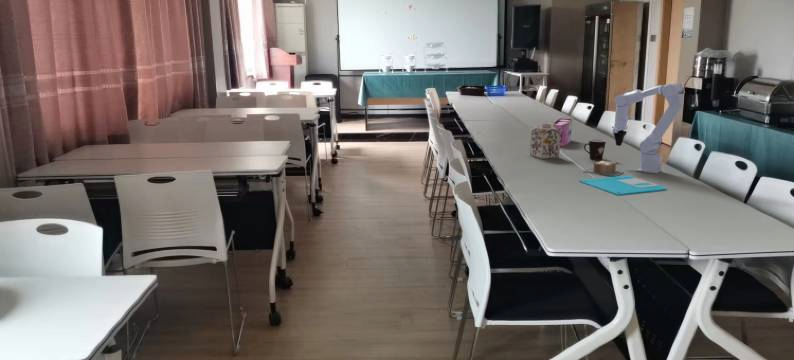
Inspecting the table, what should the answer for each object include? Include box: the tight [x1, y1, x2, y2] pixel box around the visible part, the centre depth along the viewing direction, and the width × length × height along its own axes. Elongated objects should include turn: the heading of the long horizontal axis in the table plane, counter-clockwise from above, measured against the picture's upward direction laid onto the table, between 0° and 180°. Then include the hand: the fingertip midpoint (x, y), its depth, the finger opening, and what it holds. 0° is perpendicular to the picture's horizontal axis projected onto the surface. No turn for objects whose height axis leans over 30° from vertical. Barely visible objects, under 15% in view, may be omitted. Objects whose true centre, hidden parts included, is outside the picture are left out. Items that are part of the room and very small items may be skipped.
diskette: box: [578, 175, 667, 196], centre depth 274 cm, size 26×28×1 cm
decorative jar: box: [529, 122, 561, 160], centre depth 334 cm, size 12×12×18 cm
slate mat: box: [582, 167, 624, 177], centre depth 299 cm, size 16×10×1 cm, turn 50°
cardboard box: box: [593, 160, 617, 174], centre depth 299 cm, size 7×4×10 cm
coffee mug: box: [583, 138, 607, 161], centre depth 329 cm, size 12×9×10 cm
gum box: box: [552, 118, 573, 147], centre depth 375 cm, size 24×8×14 cm, turn 156°
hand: (618, 145), depth 312 cm, fingers closed
